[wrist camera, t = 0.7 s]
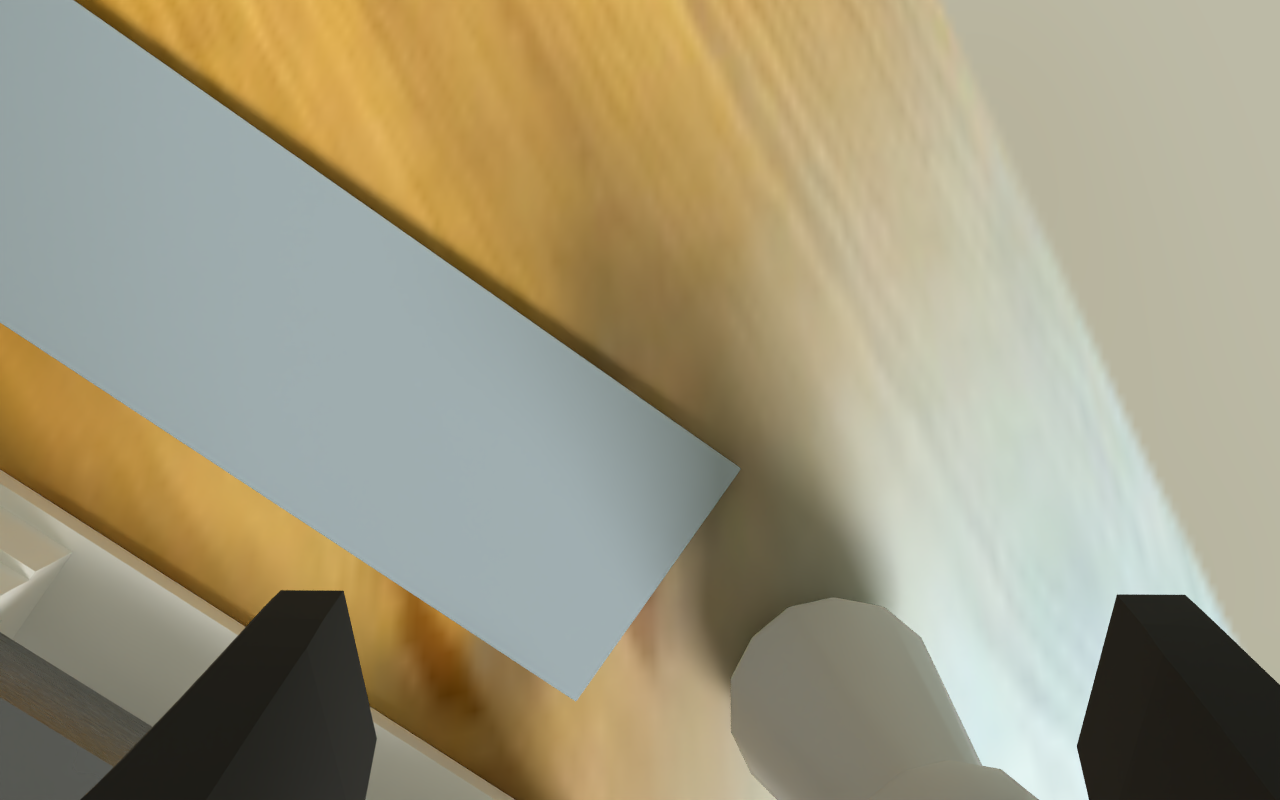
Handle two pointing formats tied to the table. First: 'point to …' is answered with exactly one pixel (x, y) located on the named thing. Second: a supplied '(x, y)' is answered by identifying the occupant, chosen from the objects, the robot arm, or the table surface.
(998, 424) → the table surface
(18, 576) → the hook stands
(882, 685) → the salt shaker
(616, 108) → the table surface
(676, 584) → the table surface
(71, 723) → the rail
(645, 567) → the mat
